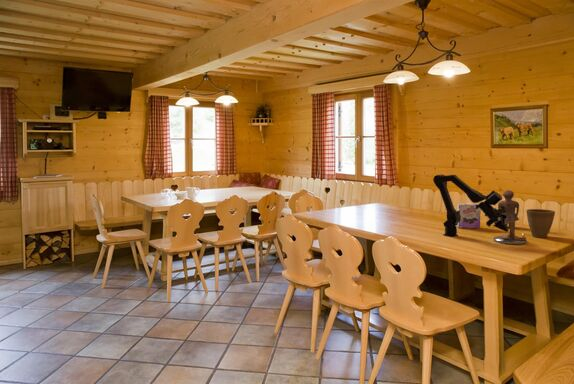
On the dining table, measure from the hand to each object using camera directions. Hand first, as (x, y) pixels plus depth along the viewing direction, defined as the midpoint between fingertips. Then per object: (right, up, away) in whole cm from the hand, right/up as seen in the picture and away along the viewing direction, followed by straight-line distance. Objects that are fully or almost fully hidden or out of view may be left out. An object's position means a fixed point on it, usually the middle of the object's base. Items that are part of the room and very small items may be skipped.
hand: (507, 231), depth 240 cm
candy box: (-2, -2, +47) cm, 47 cm away
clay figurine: (+24, -2, +46) cm, 52 cm away
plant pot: (+28, -5, +17) cm, 33 cm away
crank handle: (+6, -5, +4) cm, 8 cm away
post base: (+4, -6, +6) cm, 10 cm away
